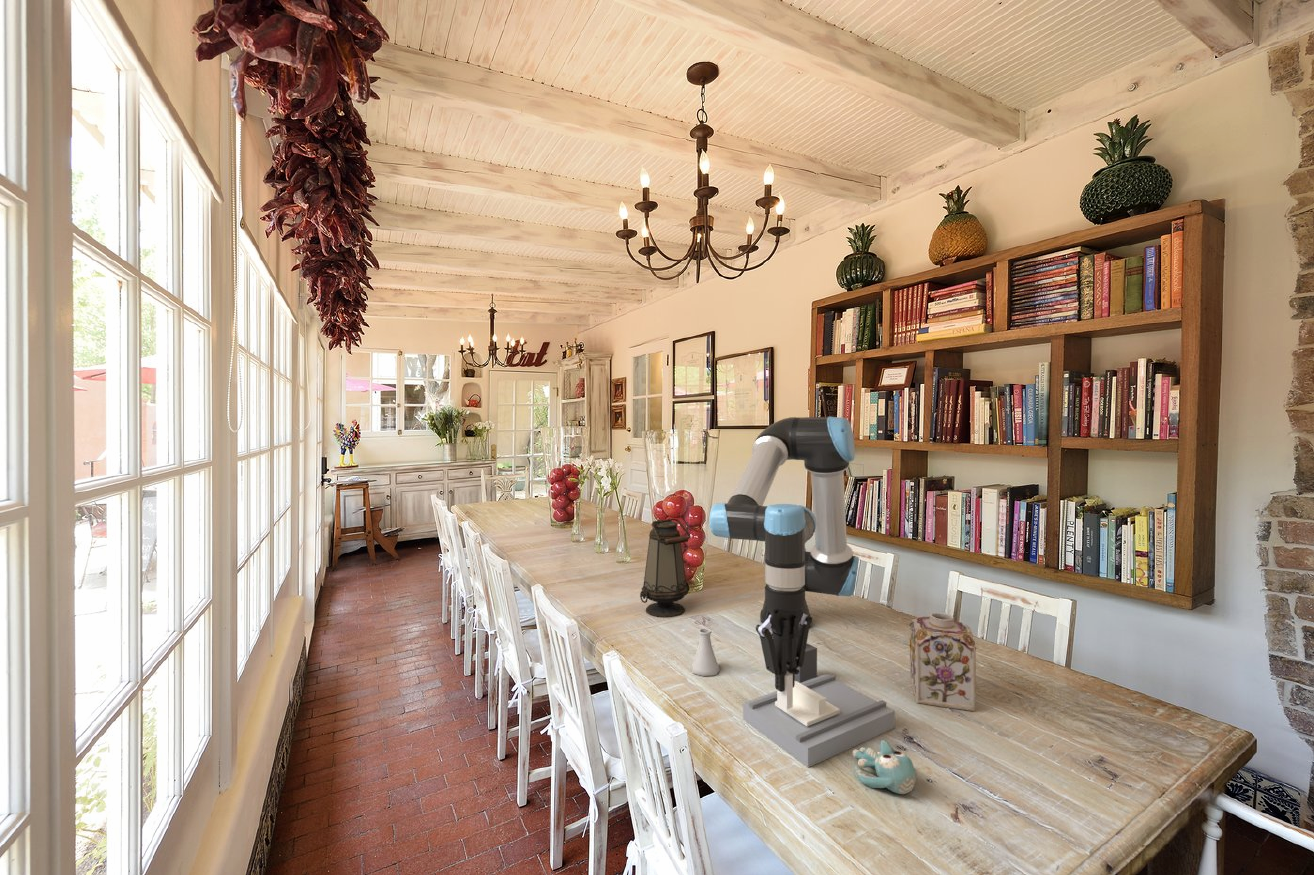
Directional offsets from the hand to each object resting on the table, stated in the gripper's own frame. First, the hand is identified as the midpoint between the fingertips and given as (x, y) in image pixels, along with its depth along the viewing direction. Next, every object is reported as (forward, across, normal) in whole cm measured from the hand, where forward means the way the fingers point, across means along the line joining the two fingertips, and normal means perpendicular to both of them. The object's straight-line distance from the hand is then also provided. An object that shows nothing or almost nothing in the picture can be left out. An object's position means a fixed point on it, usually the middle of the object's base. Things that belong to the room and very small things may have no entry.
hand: (784, 705), depth 105 cm
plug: (+6, -19, -15) cm, 25 cm away
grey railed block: (+6, -9, 0) cm, 11 cm away
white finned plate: (+2, -6, 0) cm, 6 cm away
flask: (+7, -3, -31) cm, 32 cm away
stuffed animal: (+7, -6, +18) cm, 20 cm away
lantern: (+7, -16, -72) cm, 74 cm away
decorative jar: (+7, -41, +6) cm, 42 cm away
